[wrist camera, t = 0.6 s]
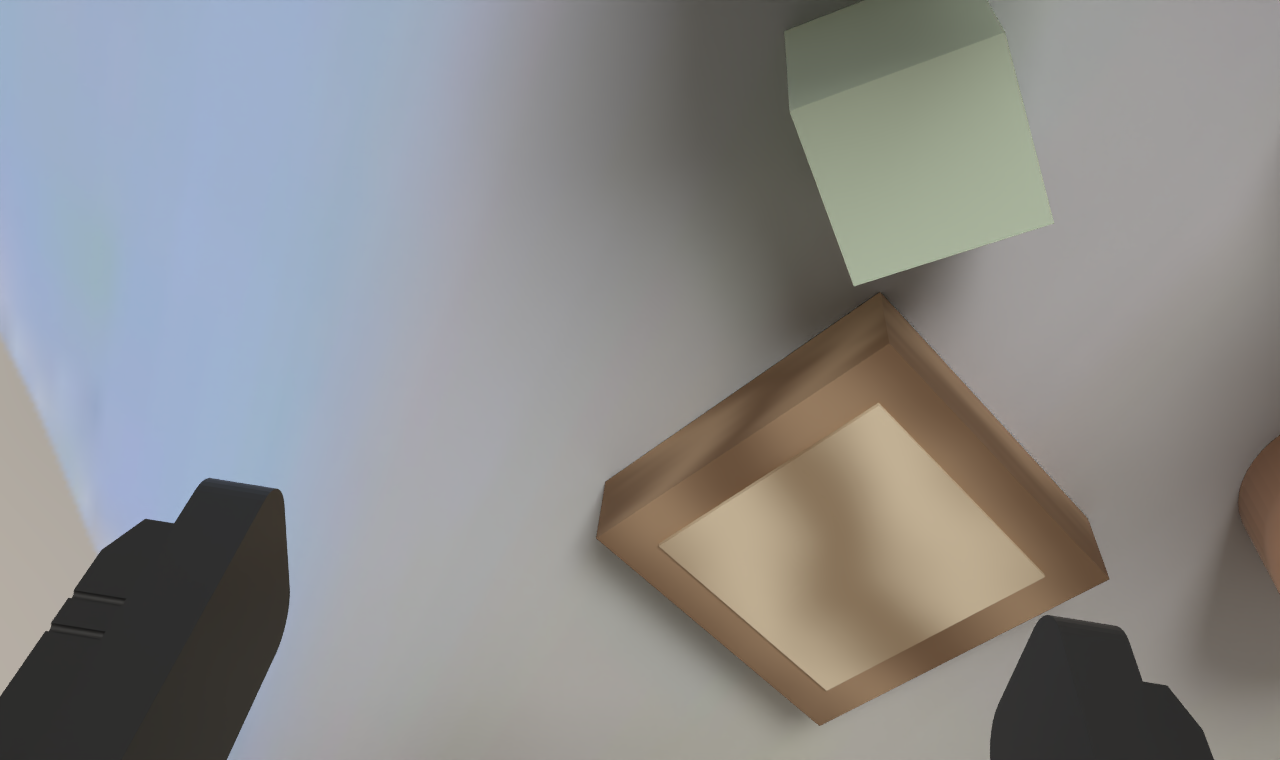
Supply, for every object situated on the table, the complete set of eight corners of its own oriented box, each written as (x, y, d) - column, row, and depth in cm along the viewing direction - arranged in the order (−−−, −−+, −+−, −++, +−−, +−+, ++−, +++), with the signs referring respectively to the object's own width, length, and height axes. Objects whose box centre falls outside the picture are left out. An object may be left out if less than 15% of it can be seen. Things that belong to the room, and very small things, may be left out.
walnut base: (880, 291, 36) (889, 345, 34) (1088, 518, 41) (1110, 582, 38) (605, 481, 41) (595, 540, 39) (816, 664, 46) (819, 729, 43)
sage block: (964, -40, 31) (1005, 32, 26) (1009, 128, 33) (1054, 223, 28) (783, 30, 32) (789, 111, 27) (840, 186, 34) (853, 286, 30)
